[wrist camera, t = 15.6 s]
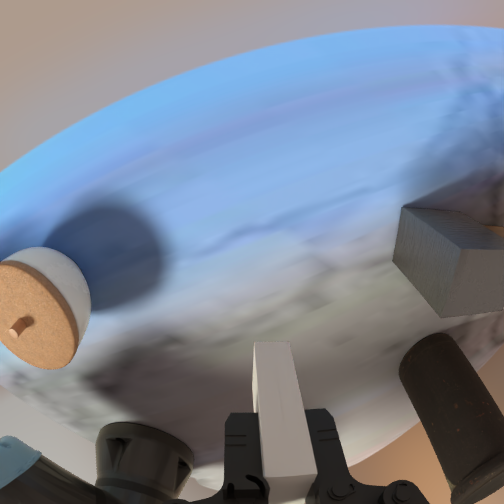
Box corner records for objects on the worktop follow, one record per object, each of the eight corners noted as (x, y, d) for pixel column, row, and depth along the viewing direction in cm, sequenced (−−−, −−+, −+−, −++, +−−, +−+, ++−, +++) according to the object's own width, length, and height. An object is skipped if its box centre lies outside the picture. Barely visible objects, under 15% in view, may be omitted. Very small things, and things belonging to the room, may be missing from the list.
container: (391, 391, 36) (442, 523, 17) (400, 339, 32) (477, 490, 14) (446, 374, 35) (509, 489, 17) (461, 323, 32) (550, 445, 13)
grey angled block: (392, 261, 28) (440, 318, 19) (401, 206, 26) (461, 249, 17) (448, 261, 28) (501, 310, 19) (459, 211, 26) (522, 250, 17)
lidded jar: (48, 207, 26) (-14, 246, 17) (126, 284, 29) (88, 347, 20) (10, 275, 28) (-39, 320, 20) (77, 338, 32) (42, 397, 23)
